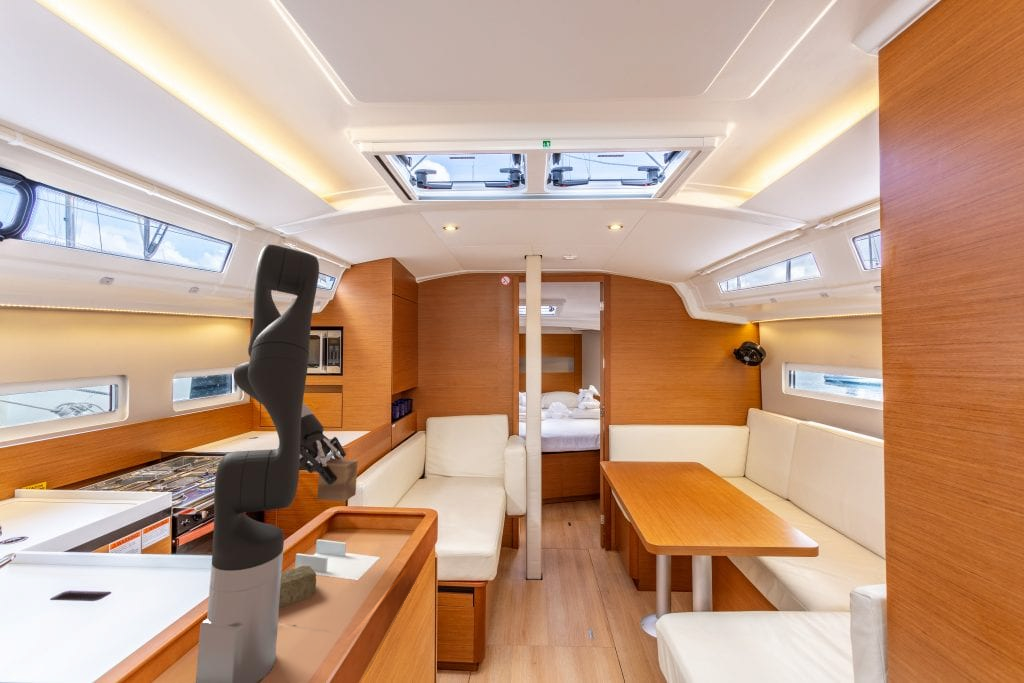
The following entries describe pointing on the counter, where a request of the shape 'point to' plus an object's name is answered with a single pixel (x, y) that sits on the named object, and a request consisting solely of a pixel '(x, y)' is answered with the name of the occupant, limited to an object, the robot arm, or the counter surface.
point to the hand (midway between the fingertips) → (340, 478)
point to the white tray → (336, 561)
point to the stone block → (297, 585)
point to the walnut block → (339, 481)
